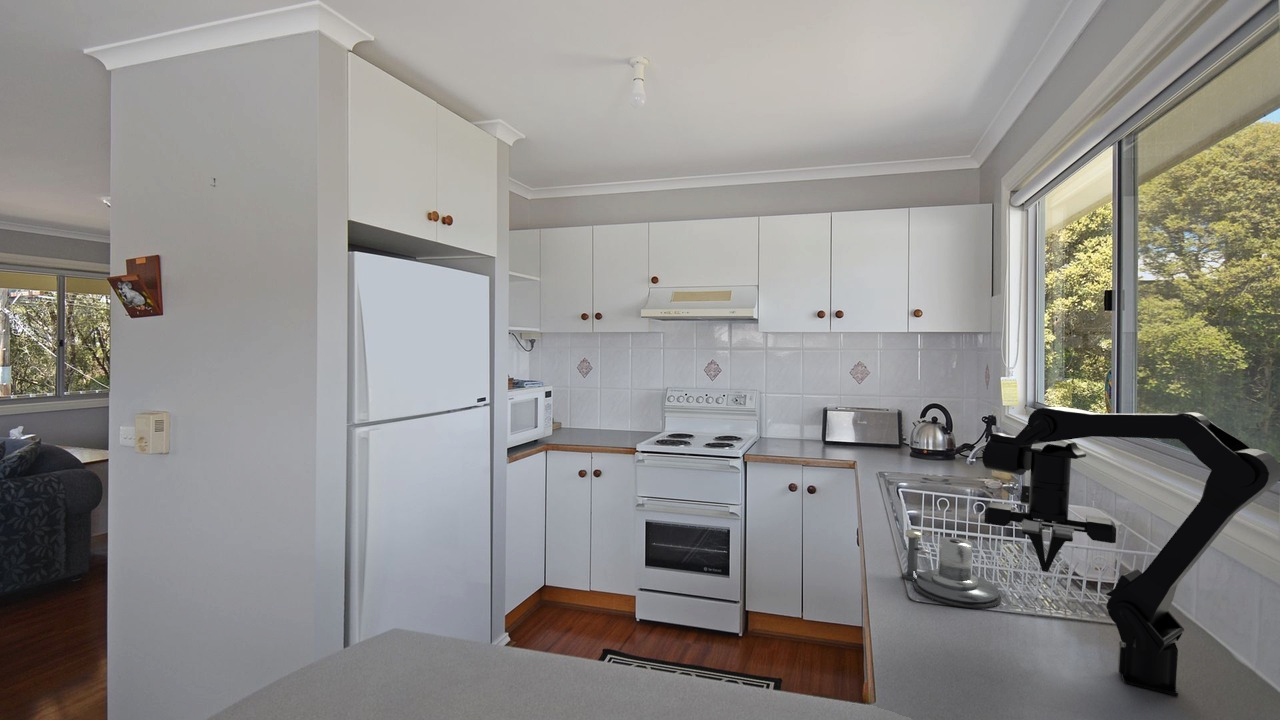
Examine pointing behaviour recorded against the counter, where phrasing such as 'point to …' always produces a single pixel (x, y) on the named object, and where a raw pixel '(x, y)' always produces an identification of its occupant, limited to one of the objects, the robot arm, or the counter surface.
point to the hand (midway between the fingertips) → (1045, 571)
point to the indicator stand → (913, 553)
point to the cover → (955, 565)
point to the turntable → (958, 593)
